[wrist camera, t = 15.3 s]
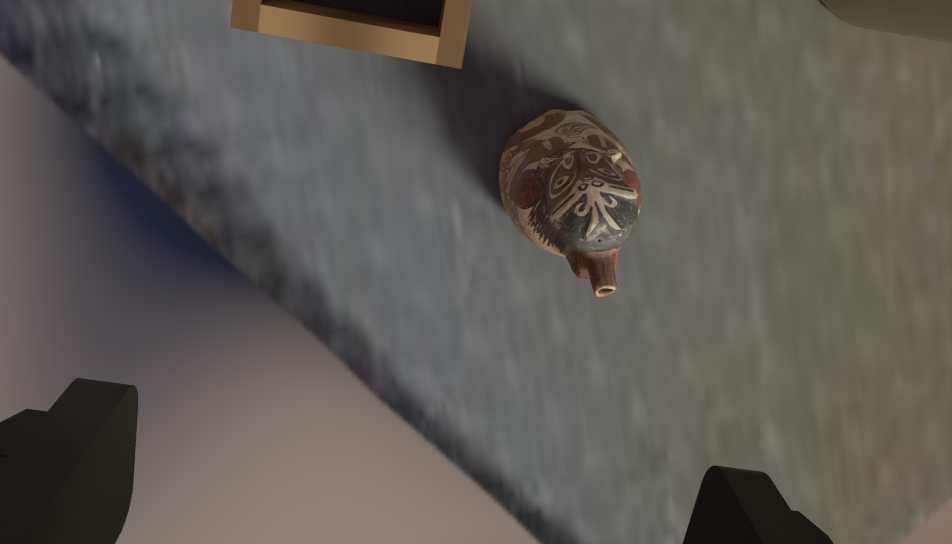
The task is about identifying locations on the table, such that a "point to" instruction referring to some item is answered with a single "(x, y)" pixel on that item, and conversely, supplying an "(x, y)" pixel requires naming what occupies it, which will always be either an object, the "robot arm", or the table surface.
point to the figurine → (572, 192)
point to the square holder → (361, 29)
